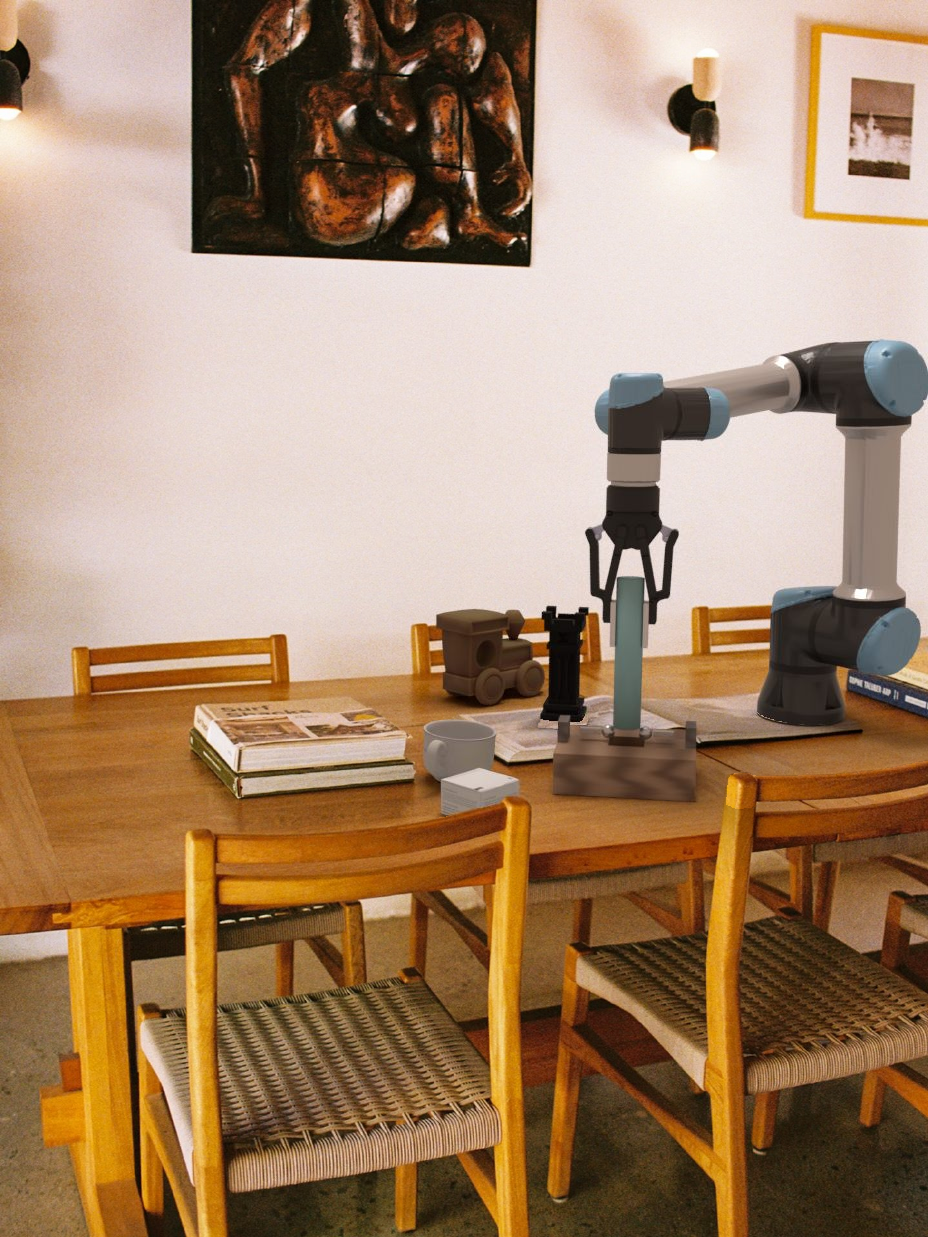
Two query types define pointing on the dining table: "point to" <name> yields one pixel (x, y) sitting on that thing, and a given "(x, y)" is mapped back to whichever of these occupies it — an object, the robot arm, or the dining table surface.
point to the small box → (475, 790)
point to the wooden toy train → (487, 655)
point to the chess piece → (564, 664)
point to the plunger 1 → (599, 730)
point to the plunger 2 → (654, 733)
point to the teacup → (457, 747)
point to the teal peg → (628, 652)
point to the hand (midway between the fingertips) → (628, 645)
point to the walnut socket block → (625, 763)
